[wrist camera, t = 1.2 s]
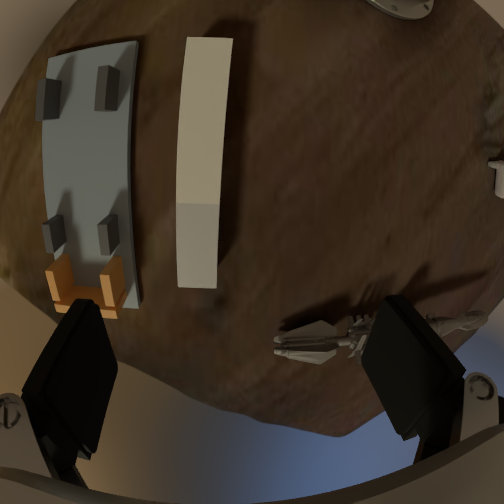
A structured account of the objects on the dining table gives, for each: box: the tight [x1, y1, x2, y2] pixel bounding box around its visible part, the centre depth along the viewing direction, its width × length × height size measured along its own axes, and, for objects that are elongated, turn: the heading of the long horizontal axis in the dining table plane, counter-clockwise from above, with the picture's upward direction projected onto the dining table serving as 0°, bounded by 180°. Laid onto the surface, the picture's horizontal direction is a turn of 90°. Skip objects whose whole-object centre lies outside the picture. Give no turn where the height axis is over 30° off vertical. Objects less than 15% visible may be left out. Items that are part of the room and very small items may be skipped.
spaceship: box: [274, 311, 488, 365], centre depth 32 cm, size 8×35×8 cm
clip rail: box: [35, 41, 141, 319], centre depth 22 cm, size 28×10×5 cm, turn 175°
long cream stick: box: [176, 37, 233, 288], centre depth 23 cm, size 22×4×4 cm, turn 175°
